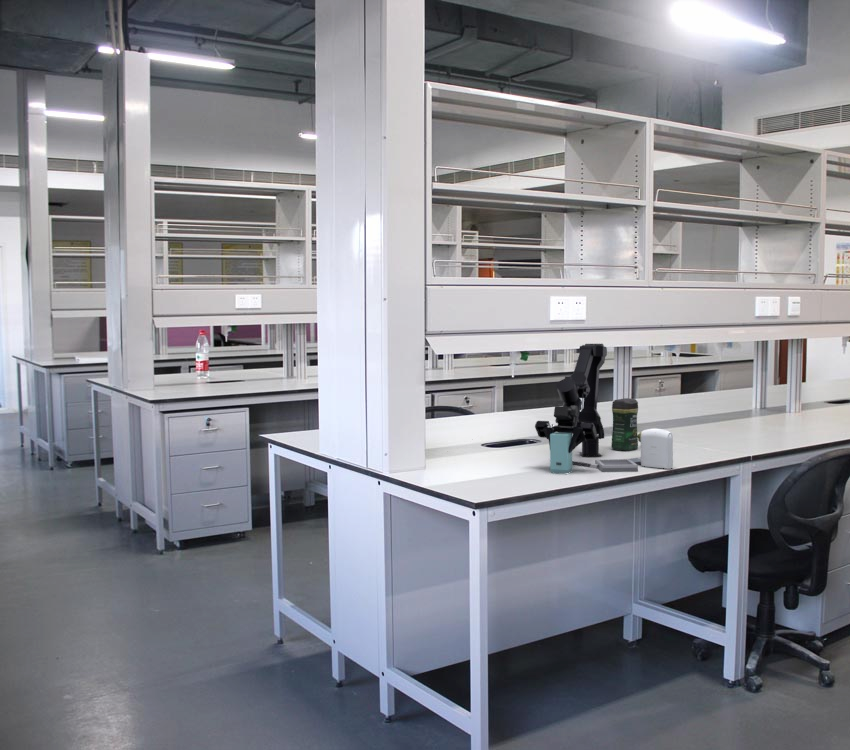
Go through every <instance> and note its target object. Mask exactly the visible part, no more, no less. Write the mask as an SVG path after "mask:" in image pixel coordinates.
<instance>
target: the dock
mask: <svg viewBox="0 0 850 750" xmlns="http://www.w3.org/2000/svg"><path fill="white" fill-rule="evenodd" d="M630 459H631V458H615V459H614V458H613V459H610V458H609V459H607V458H606V459H605V458H603V459H594V464H597V465H598V468H597V469H598V470H600V472H601V473H611V472H612V473H613V472H614V473H616V472H617V473H618V472H621V473H624V472H625V473H626V472H627V473H628V472H631V473H632V472H638V471H639V465H637V464H636V463H634V462H633V461H631V460H630Z"/></svg>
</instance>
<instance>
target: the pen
mask: <svg viewBox="0 0 850 750" xmlns="http://www.w3.org/2000/svg"><path fill="white" fill-rule="evenodd" d="M572 465H577V466H581V465H582V466H583V467H587V468H593V469H598V465H597V464H595V463H588V462H587V463H586V462H582V461H575V460H572ZM582 466H581V467H582Z"/></svg>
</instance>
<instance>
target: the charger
mask: <svg viewBox="0 0 850 750" xmlns="http://www.w3.org/2000/svg"><path fill="white" fill-rule="evenodd" d="M572 436H573V434H572V433H559V432H555V433H552V434H550V446H549V458H550V459H549V463H550V464H549V466H550V467H549V471H550V472H554V473H553V474H559V473H569V472H571V471H572V472H574V471H573V464H572V461H573V451H572V452H571V453H569V452H568V450H569V445H570V442H571V439H572ZM550 472H549V473H550ZM572 472H571V473H572ZM569 474H570V473H569Z"/></svg>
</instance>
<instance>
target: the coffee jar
mask: <svg viewBox="0 0 850 750" xmlns="http://www.w3.org/2000/svg"><path fill="white" fill-rule="evenodd" d="M638 411H639V401H638V400H636V398H629V397H627V398H619V399H614V400H613V401H612V404H611V413H612V430H611V431H612V432H611V449H612V450H616V451H619V452H621V451H625V452H626V451H634V450H637V449H638V447H639V441H638V438H637V436H638Z"/></svg>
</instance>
